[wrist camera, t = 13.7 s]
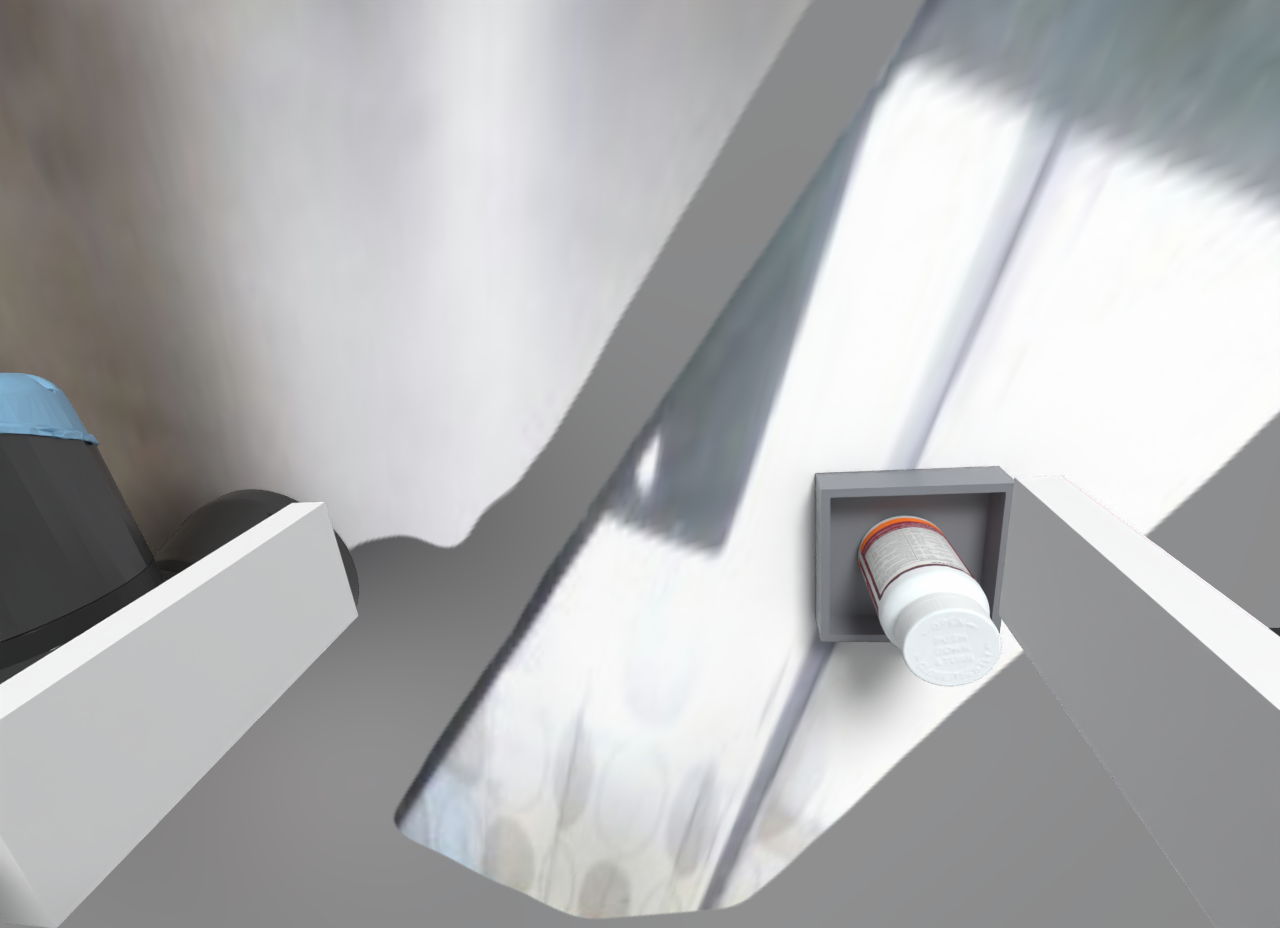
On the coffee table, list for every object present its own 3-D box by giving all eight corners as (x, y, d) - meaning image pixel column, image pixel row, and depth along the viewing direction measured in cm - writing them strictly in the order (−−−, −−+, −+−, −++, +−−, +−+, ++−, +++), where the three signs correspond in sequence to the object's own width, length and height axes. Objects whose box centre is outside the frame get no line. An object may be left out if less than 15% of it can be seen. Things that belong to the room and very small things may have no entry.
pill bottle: (934, 594, 45) (995, 704, 35) (848, 581, 46) (882, 686, 35) (956, 518, 43) (1029, 611, 33) (865, 506, 44) (908, 594, 33)
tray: (815, 617, 48) (820, 641, 45) (815, 473, 44) (821, 489, 41) (982, 617, 46) (998, 642, 43) (998, 466, 42) (1017, 482, 39)
